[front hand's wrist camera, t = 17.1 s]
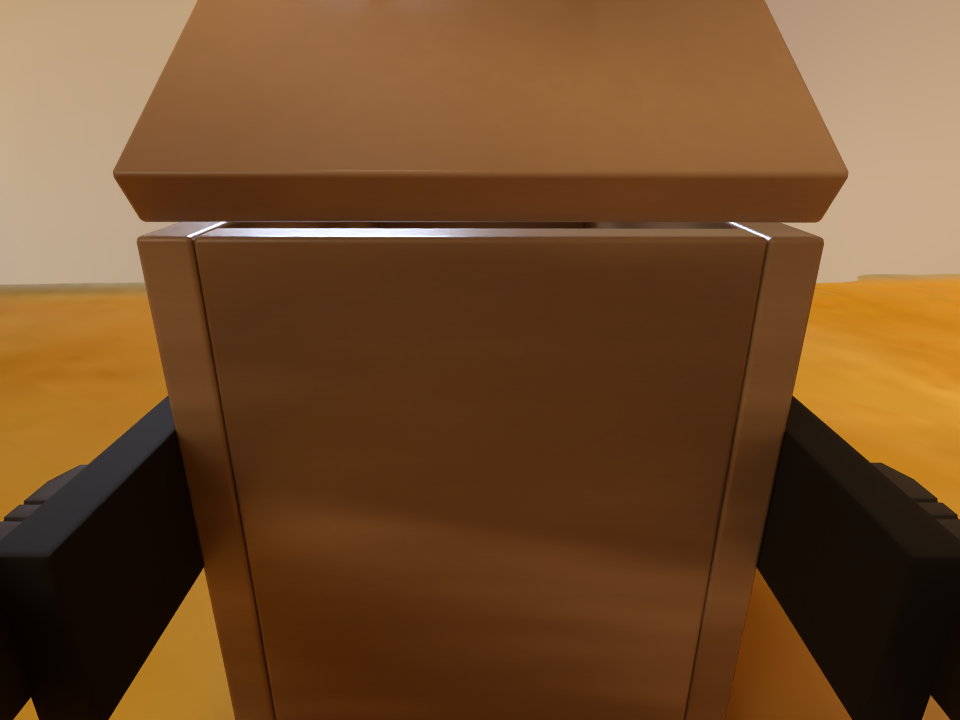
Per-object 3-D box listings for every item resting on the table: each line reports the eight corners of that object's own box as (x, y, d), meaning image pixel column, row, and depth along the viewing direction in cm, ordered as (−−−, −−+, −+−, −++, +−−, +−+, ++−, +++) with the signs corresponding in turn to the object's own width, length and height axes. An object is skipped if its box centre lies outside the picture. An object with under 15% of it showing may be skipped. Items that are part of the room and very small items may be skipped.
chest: (373, 400, 28) (356, 159, 24) (588, 400, 28) (605, 159, 24) (240, 752, 12) (132, 236, 9) (719, 753, 12) (828, 237, 9)
